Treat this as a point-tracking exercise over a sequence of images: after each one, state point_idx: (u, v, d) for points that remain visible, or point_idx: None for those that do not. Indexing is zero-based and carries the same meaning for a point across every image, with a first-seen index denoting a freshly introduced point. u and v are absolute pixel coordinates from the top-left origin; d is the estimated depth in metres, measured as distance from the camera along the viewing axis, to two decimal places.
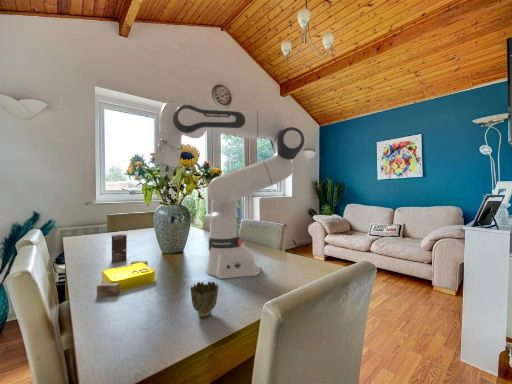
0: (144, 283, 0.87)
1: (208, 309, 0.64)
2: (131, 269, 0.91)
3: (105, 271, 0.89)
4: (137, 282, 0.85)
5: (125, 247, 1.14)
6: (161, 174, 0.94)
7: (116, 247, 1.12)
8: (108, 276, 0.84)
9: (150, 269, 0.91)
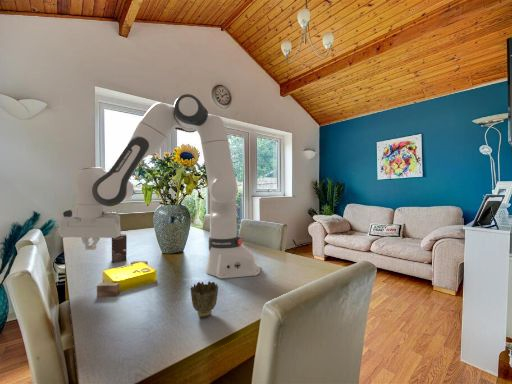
0: (146, 283, 0.87)
1: (208, 309, 0.64)
2: (132, 269, 0.91)
3: (106, 271, 0.89)
4: (139, 281, 0.85)
5: (125, 247, 1.14)
6: (94, 247, 0.89)
7: (116, 247, 1.12)
8: (110, 276, 0.84)
9: (151, 269, 0.92)
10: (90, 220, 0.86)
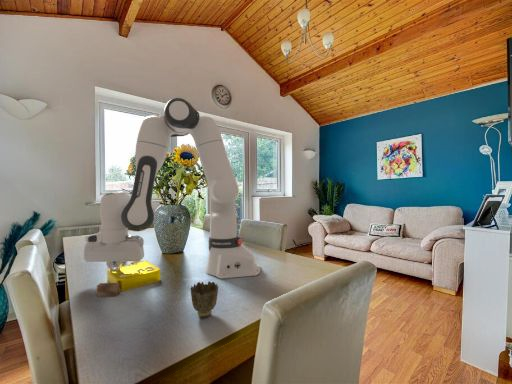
0: (150, 281, 0.88)
1: (208, 309, 0.64)
2: (136, 268, 0.92)
3: None
4: (143, 280, 0.86)
5: None
6: None
7: None
8: (114, 275, 0.85)
9: (155, 267, 0.92)
10: (115, 244, 0.87)
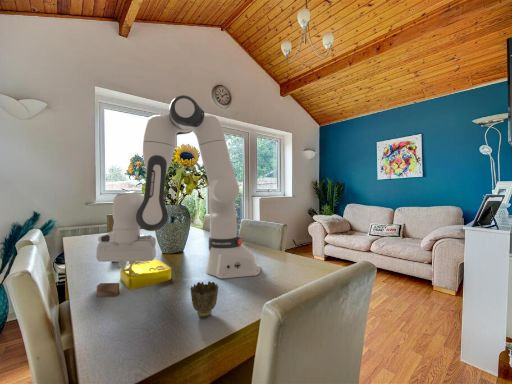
0: (161, 280, 0.89)
1: (208, 309, 0.64)
2: (148, 266, 0.93)
3: None
4: (154, 279, 0.87)
5: None
6: None
7: None
8: (126, 273, 0.87)
9: (166, 266, 0.93)
10: (127, 244, 0.87)
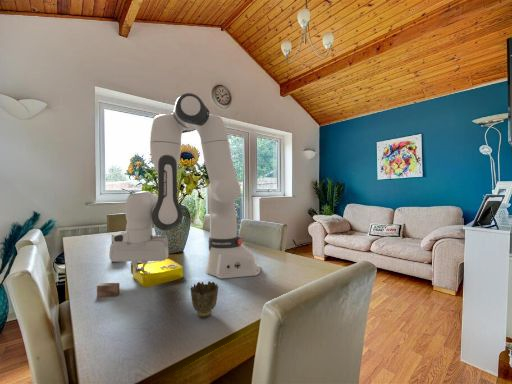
0: (173, 278, 0.91)
1: (208, 309, 0.64)
2: (160, 265, 0.95)
3: None
4: (167, 277, 0.89)
5: None
6: None
7: None
8: (140, 271, 0.89)
9: (178, 265, 0.95)
10: (140, 244, 0.87)
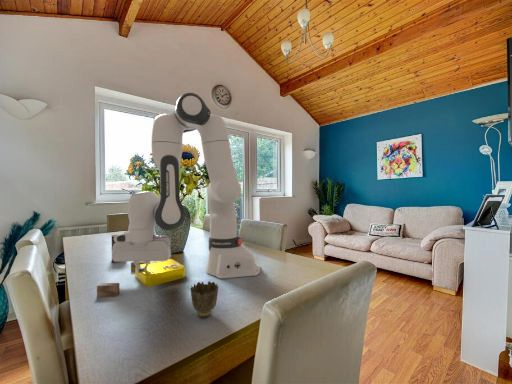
0: (175, 278, 0.91)
1: (208, 309, 0.64)
2: (162, 265, 0.96)
3: None
4: (169, 277, 0.90)
5: None
6: None
7: None
8: (142, 271, 0.89)
9: (180, 265, 0.96)
10: (143, 244, 0.87)
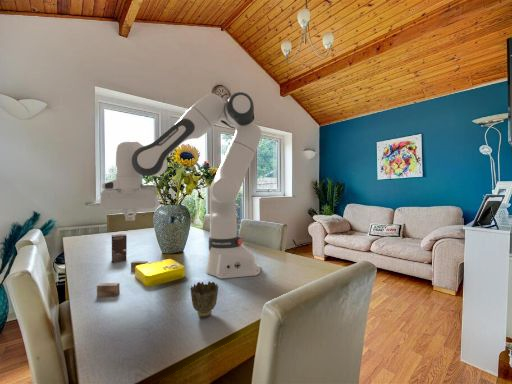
0: (175, 278, 0.91)
1: (208, 309, 0.64)
2: (162, 265, 0.96)
3: (138, 266, 0.94)
4: (169, 277, 0.90)
5: (125, 247, 1.14)
6: (133, 218, 0.93)
7: (116, 247, 1.12)
8: (142, 271, 0.89)
9: (180, 265, 0.96)
10: (130, 191, 0.90)
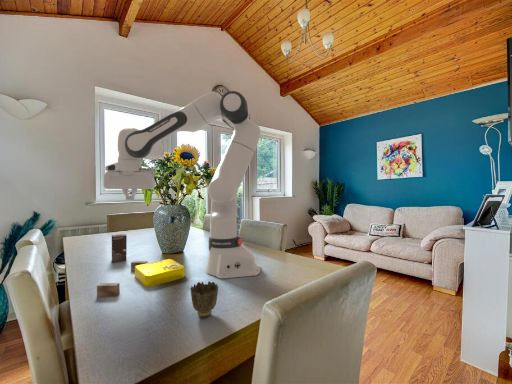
0: (175, 278, 0.91)
1: (208, 309, 0.64)
2: (162, 265, 0.96)
3: (138, 267, 0.94)
4: (169, 277, 0.90)
5: (125, 247, 1.14)
6: (133, 198, 1.04)
7: (116, 247, 1.12)
8: (142, 271, 0.89)
9: (180, 265, 0.96)
10: (130, 173, 1.01)
